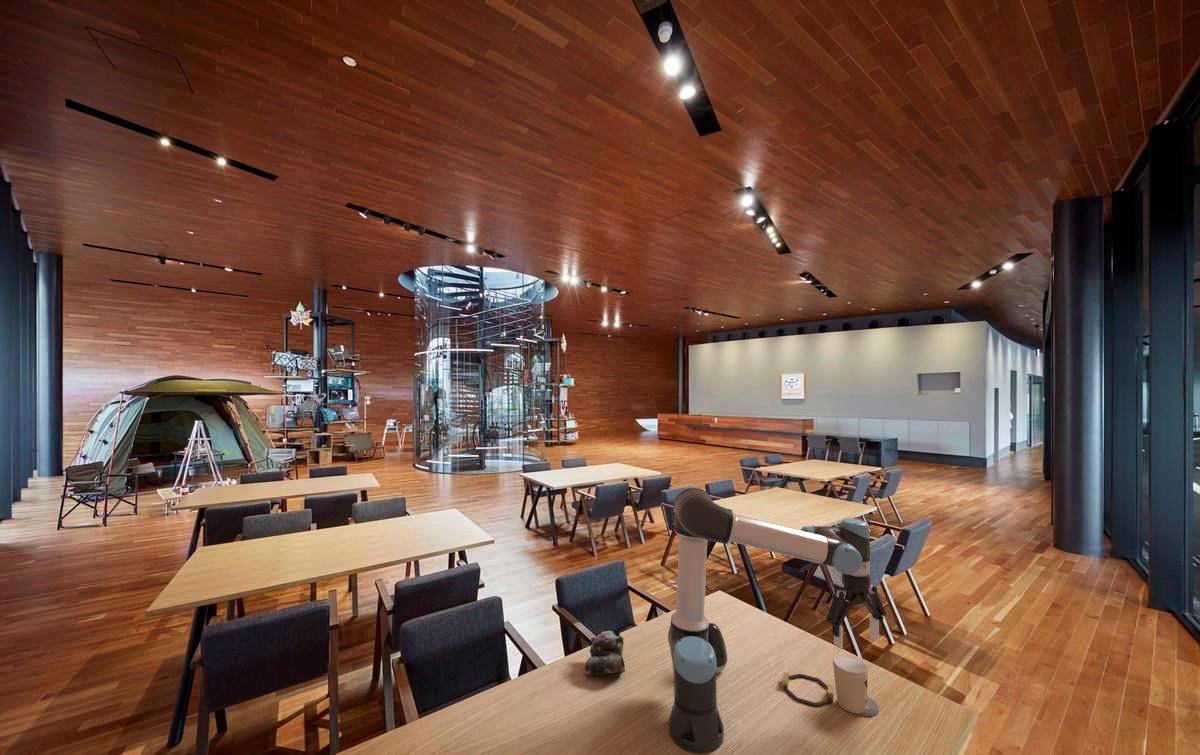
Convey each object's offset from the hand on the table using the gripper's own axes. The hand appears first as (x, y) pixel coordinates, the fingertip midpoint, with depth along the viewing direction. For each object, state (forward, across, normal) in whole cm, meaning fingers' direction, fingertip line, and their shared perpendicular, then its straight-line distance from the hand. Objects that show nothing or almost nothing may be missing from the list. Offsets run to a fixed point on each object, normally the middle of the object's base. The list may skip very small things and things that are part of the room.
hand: (856, 642), depth 138 cm
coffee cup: (+18, -2, 0) cm, 18 cm away
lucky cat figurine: (+20, -68, +39) cm, 81 cm away
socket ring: (+19, -10, +10) cm, 23 cm away
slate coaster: (+18, 0, 0) cm, 18 cm away
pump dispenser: (+19, -32, +29) cm, 47 cm away
